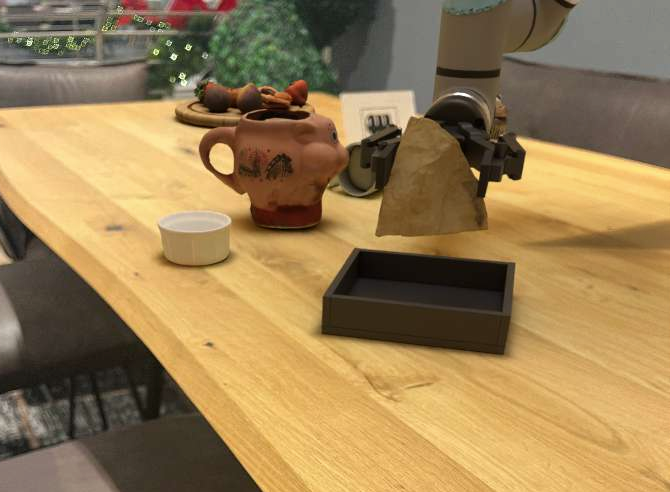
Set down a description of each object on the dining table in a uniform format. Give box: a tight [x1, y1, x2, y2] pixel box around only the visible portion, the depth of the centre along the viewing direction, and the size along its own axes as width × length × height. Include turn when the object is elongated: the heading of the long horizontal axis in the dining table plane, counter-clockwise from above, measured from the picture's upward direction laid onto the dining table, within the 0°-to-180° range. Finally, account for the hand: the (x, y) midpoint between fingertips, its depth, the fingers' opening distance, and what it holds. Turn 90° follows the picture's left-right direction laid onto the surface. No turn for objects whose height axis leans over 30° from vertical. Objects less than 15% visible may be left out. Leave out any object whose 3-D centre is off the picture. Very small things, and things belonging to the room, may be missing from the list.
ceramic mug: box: [328, 141, 386, 198], centre depth 119 cm, size 11×8×8 cm
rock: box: [374, 115, 489, 238], centre depth 72 cm, size 11×9×10 cm
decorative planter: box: [198, 109, 349, 229], centre depth 102 cm, size 20×12×14 cm, turn 91°
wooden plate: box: [174, 78, 316, 128], centre depth 173 cm, size 32×32×8 cm
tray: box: [321, 247, 516, 355], centre depth 78 cm, size 18×16×4 cm
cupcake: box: [489, 91, 509, 140], centre depth 147 cm, size 10×10×10 cm
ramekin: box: [157, 210, 232, 267], centre depth 93 cm, size 9×9×4 cm
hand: (430, 177), depth 67 cm, fingers closed on rock, 8 cm apart
